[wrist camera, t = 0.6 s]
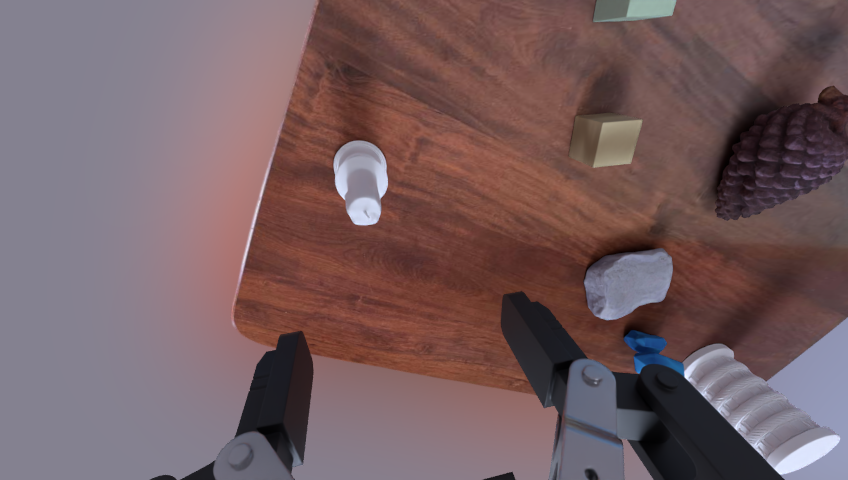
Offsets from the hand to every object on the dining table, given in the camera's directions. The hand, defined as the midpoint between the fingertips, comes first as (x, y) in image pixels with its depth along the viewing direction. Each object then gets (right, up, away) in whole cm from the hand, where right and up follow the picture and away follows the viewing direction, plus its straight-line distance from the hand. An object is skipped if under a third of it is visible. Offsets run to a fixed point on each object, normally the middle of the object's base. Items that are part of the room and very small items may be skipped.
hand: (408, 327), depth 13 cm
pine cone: (+42, +15, +29) cm, 54 cm away
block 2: (+19, +15, +24) cm, 35 cm away
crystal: (+39, -14, +45) cm, 61 cm away
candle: (-6, +11, +21) cm, 24 cm away
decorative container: (+58, -22, +54) cm, 82 cm away
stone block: (+30, -1, +36) cm, 47 cm away
